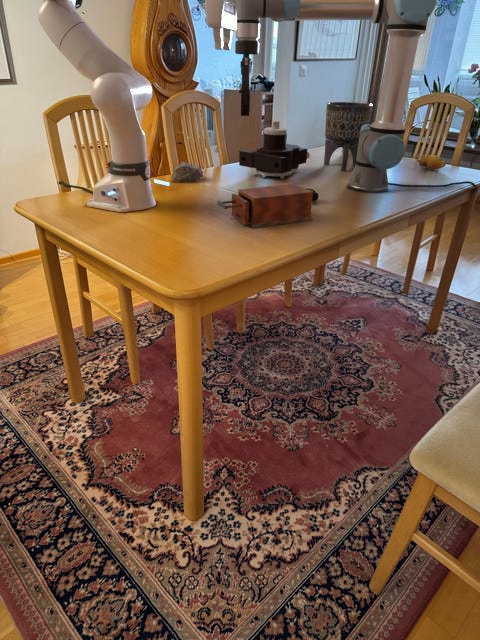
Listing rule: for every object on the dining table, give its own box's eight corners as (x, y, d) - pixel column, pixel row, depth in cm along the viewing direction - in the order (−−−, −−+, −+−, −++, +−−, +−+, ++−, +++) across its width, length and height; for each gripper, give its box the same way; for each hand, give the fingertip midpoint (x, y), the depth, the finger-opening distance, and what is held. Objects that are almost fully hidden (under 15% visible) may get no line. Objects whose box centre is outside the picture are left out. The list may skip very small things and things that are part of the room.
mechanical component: (240, 120, 182) (283, 115, 202) (239, 174, 192) (280, 164, 212) (283, 126, 170) (325, 120, 190) (280, 183, 180) (320, 171, 200)
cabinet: (252, 227, 134) (253, 198, 129) (237, 217, 142) (238, 189, 138) (310, 219, 141) (313, 191, 137) (292, 210, 149) (294, 183, 145)
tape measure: (298, 204, 156) (299, 193, 154) (293, 198, 161) (294, 187, 159) (317, 203, 156) (319, 192, 155) (312, 198, 162) (313, 187, 160)
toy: (420, 162, 205) (414, 155, 217) (422, 176, 207) (416, 168, 220) (446, 154, 201) (438, 147, 214) (448, 168, 204) (440, 161, 217)
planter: (313, 167, 208) (319, 103, 195) (331, 160, 222) (338, 101, 209) (353, 173, 199) (362, 107, 185) (369, 166, 213) (379, 104, 199)
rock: (196, 175, 189) (195, 159, 185) (208, 179, 183) (208, 163, 180) (168, 180, 181) (167, 163, 178) (181, 184, 176) (180, 167, 172)
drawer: (226, 227, 131) (226, 204, 127) (214, 217, 138) (214, 195, 135) (299, 217, 140) (301, 195, 136) (284, 209, 147) (285, 188, 144)
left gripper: (220, -9, 124) (220, 50, 131) (200, -20, 107) (201, 49, 114) (242, -9, 123) (241, 50, 130) (226, -20, 106) (226, 49, 113)
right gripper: (237, 40, 154) (236, 109, 164) (233, 38, 132) (232, 117, 143) (259, 41, 153) (256, 110, 164) (259, 38, 132) (256, 118, 143)
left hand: (222, 50), depth 122 cm, fingers open, 8 cm apart
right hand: (245, 113), depth 153 cm, fingers open, 13 cm apart
